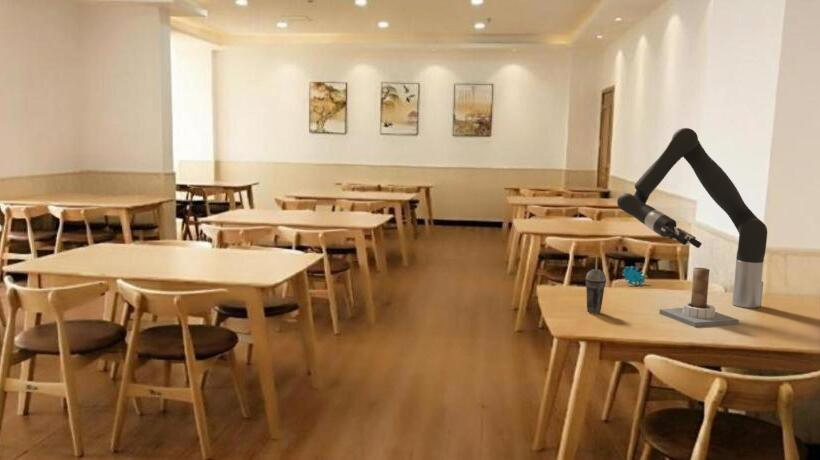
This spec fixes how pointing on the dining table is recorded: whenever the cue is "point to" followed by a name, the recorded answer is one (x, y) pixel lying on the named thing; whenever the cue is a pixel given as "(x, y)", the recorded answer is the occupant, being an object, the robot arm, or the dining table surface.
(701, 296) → the cylinder
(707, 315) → the socket plate
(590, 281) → the beverage cup
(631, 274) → the blue spiky lump
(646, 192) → the robot arm
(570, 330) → the dining table surface
